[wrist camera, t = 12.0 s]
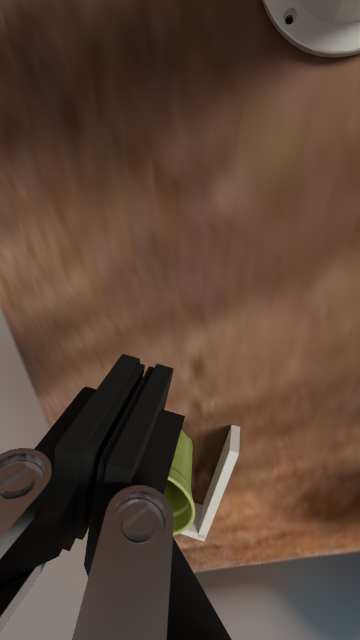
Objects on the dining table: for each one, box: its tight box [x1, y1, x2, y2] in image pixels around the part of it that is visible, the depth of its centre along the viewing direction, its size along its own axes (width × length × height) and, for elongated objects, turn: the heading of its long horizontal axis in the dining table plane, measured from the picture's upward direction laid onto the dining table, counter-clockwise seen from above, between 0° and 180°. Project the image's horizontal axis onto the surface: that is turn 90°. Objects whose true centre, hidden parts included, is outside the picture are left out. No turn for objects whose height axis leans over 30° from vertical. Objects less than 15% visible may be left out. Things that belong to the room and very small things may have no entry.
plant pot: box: [164, 430, 195, 535], centre depth 37 cm, size 9×9×9 cm
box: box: [181, 425, 240, 541], centre depth 40 cm, size 16×16×4 cm
